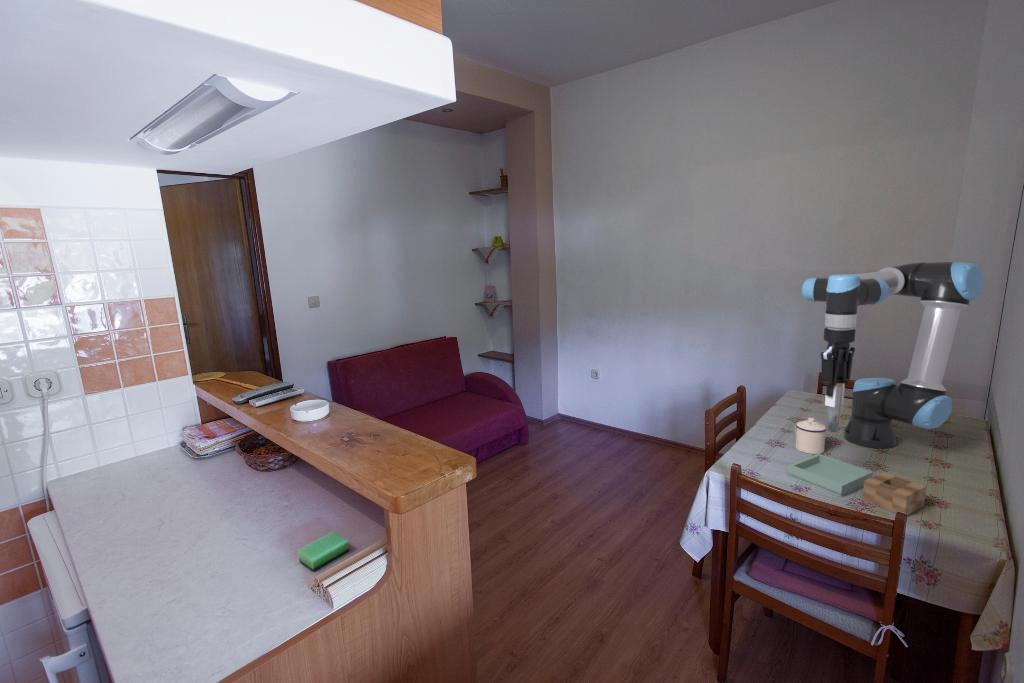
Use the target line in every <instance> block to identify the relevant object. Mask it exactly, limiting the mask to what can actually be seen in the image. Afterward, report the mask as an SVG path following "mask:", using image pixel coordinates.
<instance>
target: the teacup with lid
mask: <svg viewBox="0 0 1024 683" xmlns="http://www.w3.org/2000/svg"><path fill="white" fill-rule="evenodd" d="M794 426H795V427H794V434H795V449H796V450H798V451H799V452H800V453H801V452H802V453H805V454H807V455H808V454H809V455H815V454H821V455H822V454H823V453H825V448H826V447H825V445H826V435H827V434H826V432H827V430H826V425H825V424H823V423H821V422H818V421H817V420H816V419H815V418H814V417H808V419H806V420H800V421H798V422H797V423H796V424H795V425H794Z"/></svg>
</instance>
